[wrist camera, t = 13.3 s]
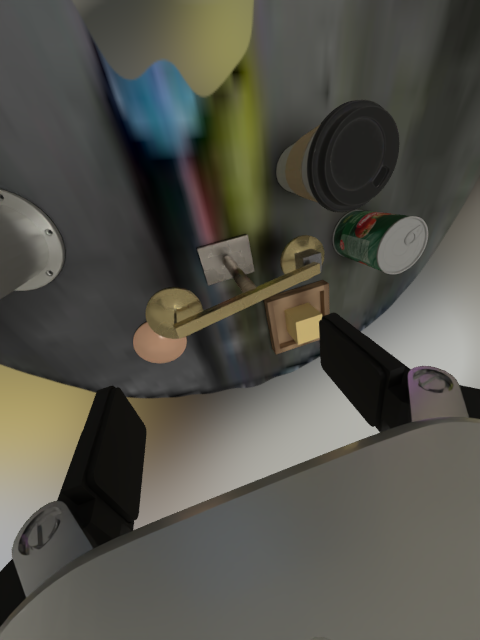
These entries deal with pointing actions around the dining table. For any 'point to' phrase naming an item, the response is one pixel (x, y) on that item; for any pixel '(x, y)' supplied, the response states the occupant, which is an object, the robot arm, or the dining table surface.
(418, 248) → the canned tomato
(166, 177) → the dining table surface
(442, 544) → the robot arm
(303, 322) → the ochre block
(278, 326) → the walnut tray
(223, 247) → the balance
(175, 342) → the terracotta dish
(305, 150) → the coffee cup
